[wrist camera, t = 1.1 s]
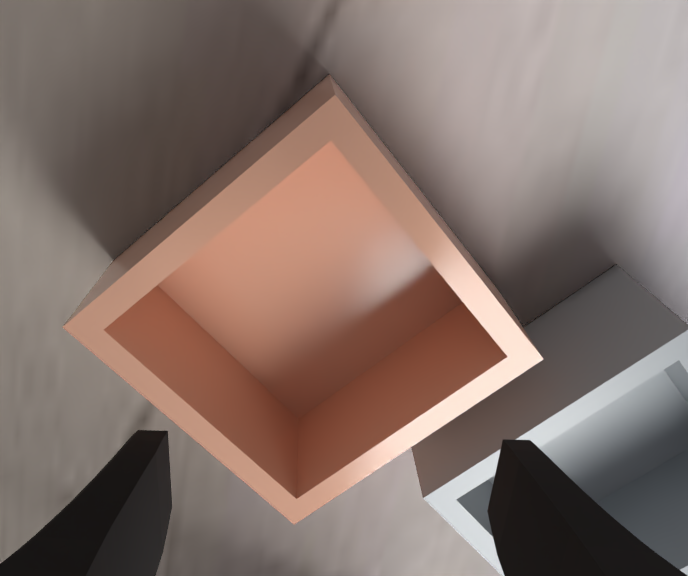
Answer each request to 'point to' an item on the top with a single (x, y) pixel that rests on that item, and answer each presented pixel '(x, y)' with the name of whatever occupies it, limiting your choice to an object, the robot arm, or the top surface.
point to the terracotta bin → (305, 311)
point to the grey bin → (582, 419)
